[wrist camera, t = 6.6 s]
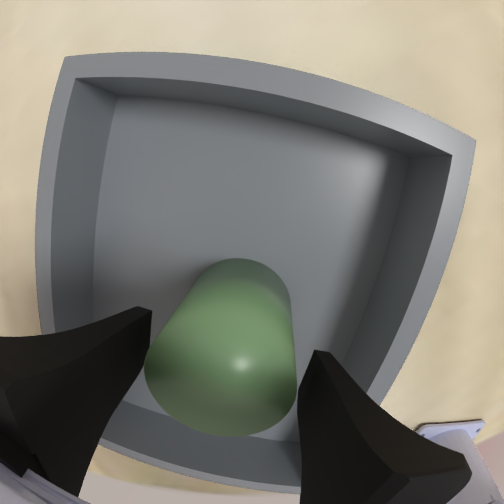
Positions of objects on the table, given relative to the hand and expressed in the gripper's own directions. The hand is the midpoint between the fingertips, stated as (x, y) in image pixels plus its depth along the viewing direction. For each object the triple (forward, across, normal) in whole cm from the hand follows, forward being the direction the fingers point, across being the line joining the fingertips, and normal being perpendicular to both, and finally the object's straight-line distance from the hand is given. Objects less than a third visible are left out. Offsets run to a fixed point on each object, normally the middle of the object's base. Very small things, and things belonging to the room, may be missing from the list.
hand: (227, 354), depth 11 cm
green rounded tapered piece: (+4, 0, 0) cm, 4 cm away
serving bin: (+5, +1, 0) cm, 5 cm away
